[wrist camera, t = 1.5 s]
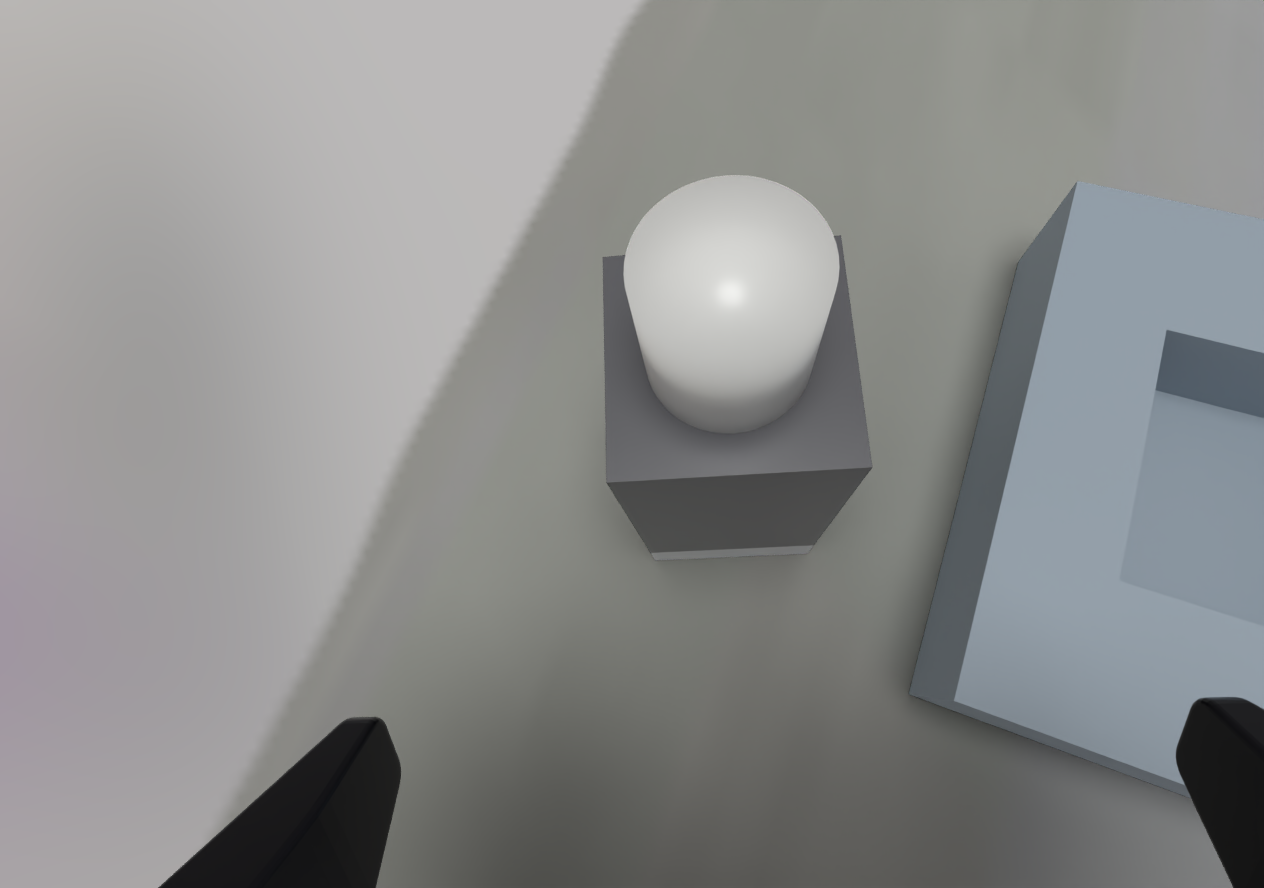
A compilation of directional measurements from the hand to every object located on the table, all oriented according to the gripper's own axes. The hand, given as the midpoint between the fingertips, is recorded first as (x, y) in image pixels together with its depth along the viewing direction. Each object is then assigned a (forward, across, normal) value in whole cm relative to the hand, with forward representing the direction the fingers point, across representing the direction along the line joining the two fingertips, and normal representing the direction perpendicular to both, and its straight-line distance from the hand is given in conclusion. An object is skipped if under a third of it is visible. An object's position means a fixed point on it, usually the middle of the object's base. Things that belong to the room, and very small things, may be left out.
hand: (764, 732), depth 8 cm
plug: (+13, 0, +5) cm, 14 cm away
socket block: (+12, -13, +6) cm, 18 cm away
